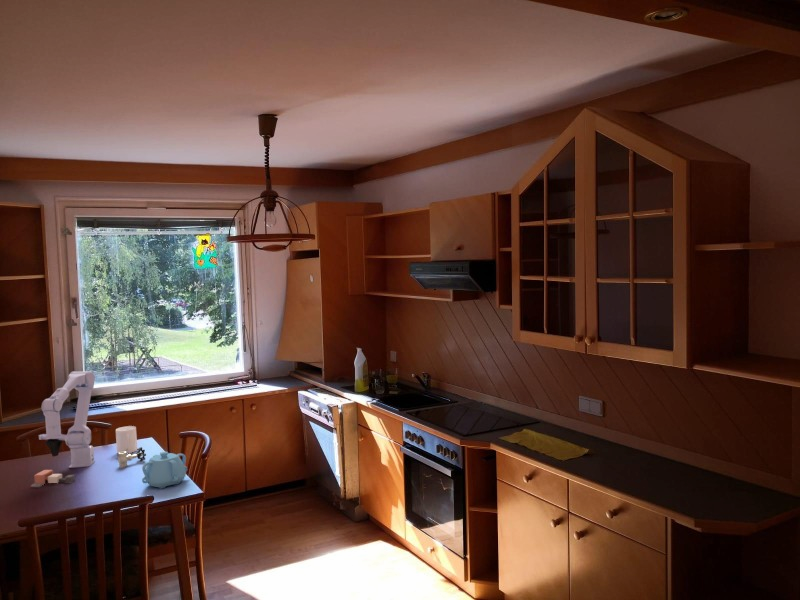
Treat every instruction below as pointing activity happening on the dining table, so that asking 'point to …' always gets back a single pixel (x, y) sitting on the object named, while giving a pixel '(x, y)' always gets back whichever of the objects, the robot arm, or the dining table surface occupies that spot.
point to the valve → (130, 457)
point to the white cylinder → (126, 439)
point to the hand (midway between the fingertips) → (55, 455)
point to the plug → (60, 478)
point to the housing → (41, 478)
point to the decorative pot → (164, 470)
